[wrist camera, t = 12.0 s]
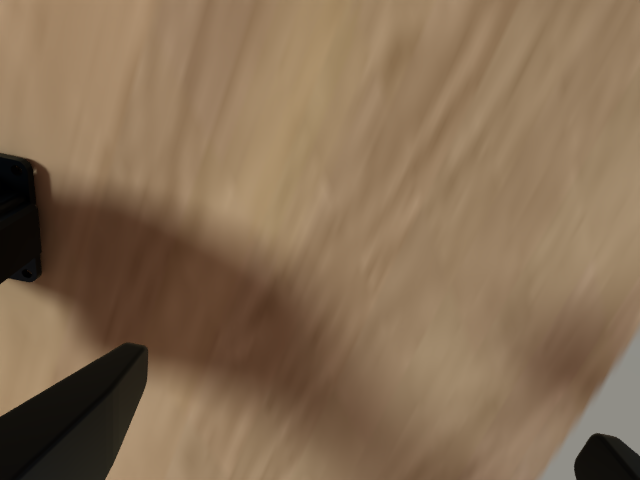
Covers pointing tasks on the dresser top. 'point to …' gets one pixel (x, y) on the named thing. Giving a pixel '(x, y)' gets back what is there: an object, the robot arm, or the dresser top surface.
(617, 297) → the dresser top surface
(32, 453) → the robot arm
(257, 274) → the dresser top surface
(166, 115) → the dresser top surface
